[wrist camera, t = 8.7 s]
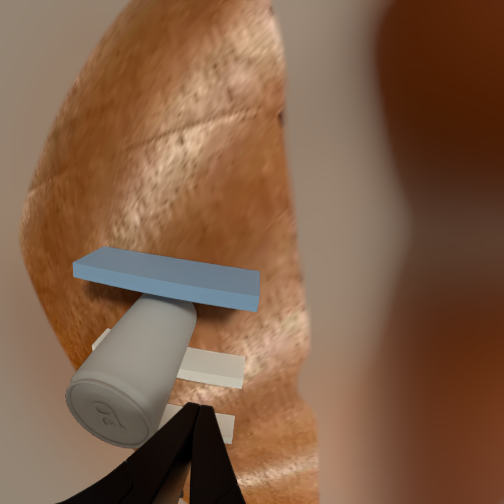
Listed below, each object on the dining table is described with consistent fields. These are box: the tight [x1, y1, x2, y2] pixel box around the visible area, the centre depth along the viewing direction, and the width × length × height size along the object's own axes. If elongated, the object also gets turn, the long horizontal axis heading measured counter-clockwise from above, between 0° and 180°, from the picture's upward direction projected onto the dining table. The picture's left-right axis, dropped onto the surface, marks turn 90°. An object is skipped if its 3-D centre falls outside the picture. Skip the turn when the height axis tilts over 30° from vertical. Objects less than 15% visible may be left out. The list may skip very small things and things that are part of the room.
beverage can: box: [65, 293, 197, 449], centre depth 16 cm, size 5×5×12 cm
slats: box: [73, 246, 260, 444], centre depth 21 cm, size 16×12×4 cm
